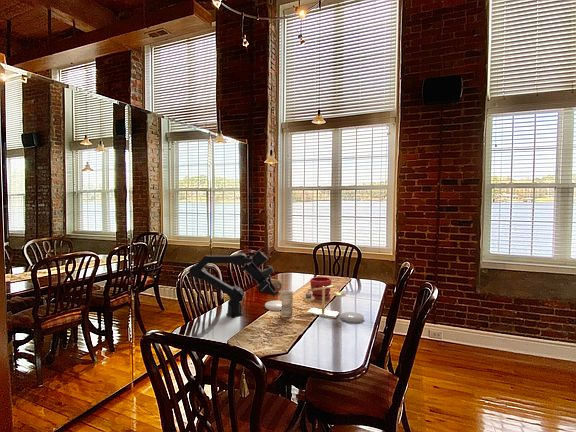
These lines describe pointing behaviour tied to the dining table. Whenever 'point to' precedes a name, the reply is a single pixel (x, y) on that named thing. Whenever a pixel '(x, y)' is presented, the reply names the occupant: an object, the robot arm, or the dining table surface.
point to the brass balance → (323, 302)
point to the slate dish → (352, 317)
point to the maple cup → (287, 303)
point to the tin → (276, 285)
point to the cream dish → (274, 305)
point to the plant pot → (318, 283)
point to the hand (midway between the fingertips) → (275, 292)
